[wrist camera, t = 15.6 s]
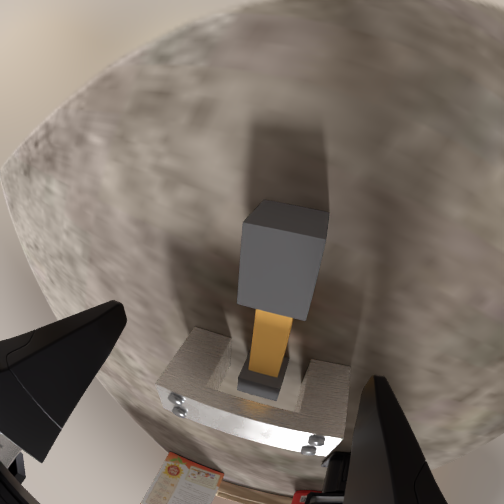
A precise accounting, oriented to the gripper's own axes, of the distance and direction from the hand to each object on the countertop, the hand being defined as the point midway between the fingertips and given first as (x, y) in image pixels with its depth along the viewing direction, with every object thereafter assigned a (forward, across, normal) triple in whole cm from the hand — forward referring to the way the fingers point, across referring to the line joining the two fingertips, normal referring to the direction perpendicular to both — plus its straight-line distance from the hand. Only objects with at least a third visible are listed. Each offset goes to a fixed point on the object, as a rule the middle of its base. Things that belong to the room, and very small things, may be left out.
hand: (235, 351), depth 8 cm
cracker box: (+10, +11, +63) cm, 64 cm away
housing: (+10, 0, +13) cm, 16 cm away
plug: (+10, 0, +6) cm, 12 cm away
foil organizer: (+10, -9, +78) cm, 79 cm away
